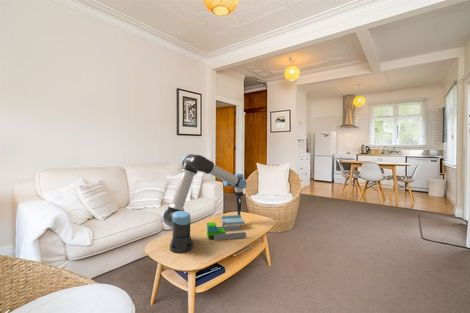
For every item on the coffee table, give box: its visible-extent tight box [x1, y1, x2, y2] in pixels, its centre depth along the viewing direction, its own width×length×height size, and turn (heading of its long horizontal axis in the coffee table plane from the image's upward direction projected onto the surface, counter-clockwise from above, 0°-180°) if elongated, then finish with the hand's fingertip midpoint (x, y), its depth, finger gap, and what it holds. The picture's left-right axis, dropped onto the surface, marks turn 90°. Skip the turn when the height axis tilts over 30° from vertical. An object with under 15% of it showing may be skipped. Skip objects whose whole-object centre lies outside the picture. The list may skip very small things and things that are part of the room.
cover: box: [220, 214, 246, 226], centre depth 191 cm, size 13×19×8 cm
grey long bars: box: [213, 224, 247, 241], centre depth 175 cm, size 24×16×4 cm
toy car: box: [206, 221, 227, 240], centre depth 171 cm, size 10×13×10 cm
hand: (238, 217), depth 200 cm, fingers closed
